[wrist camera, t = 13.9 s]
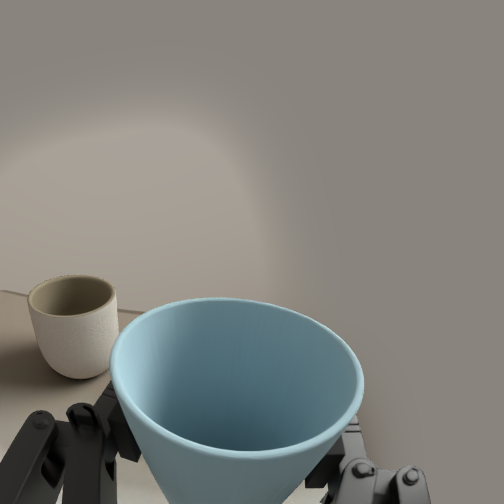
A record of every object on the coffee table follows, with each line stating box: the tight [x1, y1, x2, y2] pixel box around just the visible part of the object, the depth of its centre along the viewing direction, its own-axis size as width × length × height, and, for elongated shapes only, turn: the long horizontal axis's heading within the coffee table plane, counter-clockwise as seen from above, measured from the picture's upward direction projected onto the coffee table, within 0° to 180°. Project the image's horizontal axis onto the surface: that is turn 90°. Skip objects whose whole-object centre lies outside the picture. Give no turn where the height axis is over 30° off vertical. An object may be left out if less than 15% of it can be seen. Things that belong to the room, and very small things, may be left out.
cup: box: [109, 298, 364, 504], centre depth 10 cm, size 8×8×10 cm
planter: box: [27, 275, 119, 379], centre depth 33 cm, size 12×12×11 cm
